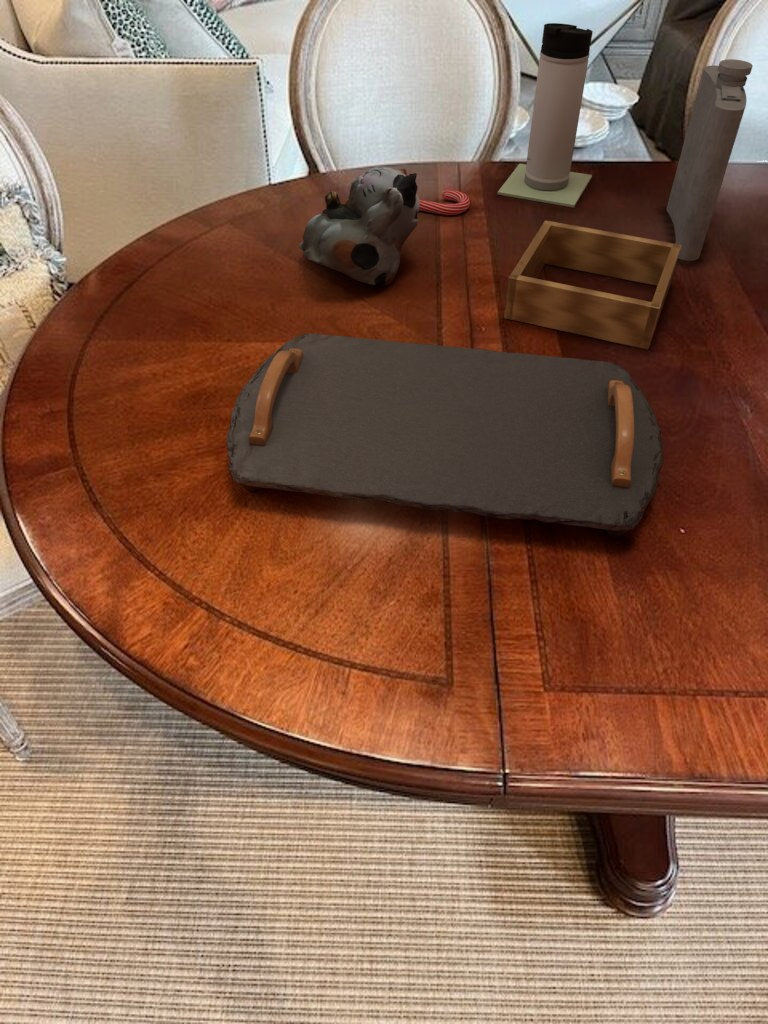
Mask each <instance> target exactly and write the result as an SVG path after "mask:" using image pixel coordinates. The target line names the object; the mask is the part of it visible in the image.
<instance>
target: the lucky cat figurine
mask: <svg viewBox="0 0 768 1024" xmlns="http://www.w3.org/2000/svg"><path fill="white" fill-rule="evenodd" d="M417 176H418V174H417V172H412V173H409V174H407V169H406V168H404V167H403V168H400V169H395V168H393V167H388V166H383V167H378V166H374V167H371V168H370V169H369V170H367V171H366V172H365V173H363V174H360V175H359V176H357V177H355V178H354V179H353V181H352V182H351V184H350V188H349V194H348V200H346V201H345V203H344V204H343V203H342V202H341V200H340V196H339V194H338V193H337V192H336V191H333V190H329V192H328V193H327V194H325V196H324V201H325V209H323V210H322V212H321V213H319V214H316V215H314V216H312V218H311V219H310V220H309V221H308V222H307V224H306V225H305V228H304V231H303V235H302V242H300V243H299V245H298V248H299V249H300V250H302V252H303V253H302V256H303V257H305V258H306V259H307V260H308V261H311V262H313V263H315V264H317V265H319V266H323V267H325V268H328V269H331V270H334V271H337V272H340V273H342V274H344V275H346V276H347V277H349V278H350V279H353V280H355V281H357V282H359V283H363V284H367V285H372V286H376V285H379V286H380V287H381V288H382V287H388V285H390V284H391V283H392V282H394V279H395V277H396V275H397V272H398V270H399V268H400V263H401V252H402V248H403V246H404V244H405V242H406V241H407V240H408V238H409V237H410V235H411V234H412V233H413V232H414V230H415V229H416V228H417V227H418V224H419V220H420V219H419V218H418V214H419V209H420V204H419V203H420V200H421V199H420V198H419V195H418V193H417V192H418V184H417V181H416V180H417Z"/></svg>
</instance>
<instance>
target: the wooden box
mask: <svg viewBox="0 0 768 1024" xmlns="http://www.w3.org/2000/svg"><path fill="white" fill-rule="evenodd" d="M681 246H682V245H679V244H675V243H673V242H667V241H663V240H656V239H650V238H645V237H640V236H634V235H628V234H623V233H618V232H613V231H607V230H601V229H597V228H596V229H595V228H591V227H584V226H578V225H573V224H568V223H562V222H556V221H551V220H544V221H543V223H542V224H541V226H540V228H539V229H538V231H537V232H536V234H535V235H534V237H533V238H532V240H531V242H530V243H529V245H528V247H527V248H526V250H525V252H524V253H523V255H522V256H521V258H520V259H519V261H518V263H517V264H516V266H515V267H514V269H513V270H512V272H511V273H510V275H509V276H508V281H507V287H506V297H505V306H504V314H503V318H504V319H506V320H510V321H516V322H520V323H525V324H530V325H534V326H539V327H542V328H547V329H550V330H551V329H552V330H556V331H561V332H565V333H571V334H575V335H579V336H584V337H588V338H592V339H597V340H602V341H607V342H611V343H616V344H620V345H625V346H629V347H633V348H639V349H642V350H649V349H650V346H651V344H652V343H651V342H652V340H653V338H654V335H655V332H656V328H657V325H658V323H659V319H660V317H661V313H662V311H663V308H664V305H665V301H666V299H667V297H668V294H669V290H670V288H671V284H672V281H673V277H674V274H675V271H676V267H677V263H678V260H679V259H678V257H679V253H680V250H681ZM545 265H550V266H554V267H559V268H564V269H569V270H574V271H580V272H585V273H591V274H595V275H601V276H604V277H605V276H606V277H611V278H616V279H621V280H624V281H625V280H626V281H631V282H636V283H640V284H647V285H651V286H656V289H655V291H654V294H653V297H652V300H651V301H648V300H644V299H638V298H633V297H629V296H625V295H618V294H614V293H609V292H604V291H600V290H594V289H589V288H584V287H580V286H574V285H569V284H566V283H565V284H564V283H559V282H554V281H550V280H546V279H545V280H544V279H540V278H538V276H539V275H540V273H541V272H542V270H543V268H544V266H545Z"/></svg>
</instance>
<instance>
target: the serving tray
mask: <svg viewBox="0 0 768 1024" xmlns="http://www.w3.org/2000/svg"><path fill="white" fill-rule="evenodd" d="M234 402H235V403H234V406H233V409H232V411H231V413H230V425H229V428H228V430H227V434H226V447H227V451H228V452H227V458H228V461H229V462H228V469H229V471H230V475H231V478H232V479H233V481H234V482H236V483H237V484H239V485H242V486H243V488H244V489H245V490H247V491H248V492H249V493H257V492H259V491H261V490H262V489H272V490H280V491H287V492H295V493H303V494H309V495H317V496H325V497H331V498H337V499H339V500H340V499H341V500H360V501H376V502H377V501H378V502H386V503H391V504H395V505H399V506H404V507H409V508H417V509H418V508H419V509H423V510H430V511H431V510H432V511H447V512H453V513H469V514H475V515H479V516H481V517H492V518H494V519H498V520H504V521H508V520H509V521H515V520H527V521H529V520H531V521H533V520H536V521H539V522H541V523H548V524H552V523H553V524H555V523H557V524H561V525H566V526H574V527H582V528H583V527H584V528H592V529H598V530H605V533H606V534H607V535H608V536H610V537H613V538H617V537H620V536H622V535H624V534H625V533H626V532H628V531H631V530H633V529H634V528H636V526H637V525H638V524H639V523H640V522H641V520H642V519H643V517H644V514H645V510H646V509H647V507H648V505H649V503H651V501H652V499H653V498H655V495H656V490H657V488H658V486H659V484H660V471H661V469H662V467H663V464H664V461H665V460H664V457H665V456H664V451H663V442H662V441H663V440H662V436H661V433H662V429H661V427H660V424H659V422H658V420H657V419H656V414H655V412H654V410H653V409H652V406H651V404H650V403H649V400H648V399H647V397H646V395H645V393H644V392H643V391H642V389H641V388H640V387H639V386H638V384H637V383H636V382H635V381H634V379H633V377H632V375H631V374H630V373H629V372H628V371H627V370H626V369H624V368H623V367H622V366H621V365H619V364H618V363H613V362H608V361H604V360H590V359H583V358H582V359H581V358H576V357H559V356H552V355H543V354H533V353H522V352H521V353H519V352H506V351H497V350H490V349H481V348H467V347H460V346H448V345H447V346H446V345H441V344H426V343H418V342H402V341H396V340H385V339H376V338H365V337H352V336H345V335H333V334H332V335H331V334H323V333H302V334H299V335H298V336H295V337H294V338H292V339H291V338H290V340H287V341H286V342H285V343H284V344H283V345H282V346H280V347H279V348H277V350H275V352H274V353H272V354H271V355H269V356H268V357H267V358H266V359H265V360H264V361H263V362H262V363H261V364H260V365H259V366H258V367H257V369H256V370H255V373H253V375H252V376H251V378H250V379H249V380H248V381H247V382H246V383H245V385H244V386H243V387H242V388H241V390H240V392H239V394H238V395H237V398H236V400H235V401H234Z"/></svg>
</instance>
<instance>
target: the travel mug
mask: <svg viewBox="0 0 768 1024" xmlns="http://www.w3.org/2000/svg"><path fill="white" fill-rule="evenodd" d="M593 33H594V31H593V30H592V29H589V28H586V29H584V28H580V27H578V26H577V25H574V24H569V23H568V24H567V23H561V22H559V23H558V22H557V23H556V22H550V23H549V22H547V23H545V24H544V25H543V31H542V39H541V47H540V52H539V59H538V67H537V74H536V83H535V91H534V99H533V108H532V115H531V124H530V131H529V140H528V147H527V156H526V171H525V179H524V180H525V183H526V184H527V185H529V186H530V187H532V188H535V189H538V190H544V191H553V190H559V189H562V188H564V187H565V186H567V184H568V181H569V175H570V172H571V168H572V162H573V157H574V156H573V155H574V150H575V144H576V140H577V131H578V128H579V127H578V126H579V122H580V121H579V120H580V114H581V108H582V101H583V97H584V91H585V85H586V78H587V73H588V72H587V71H588V66H589V58H590V50H591V47H590V46H592V45H591V44H592V38H593Z"/></svg>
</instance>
